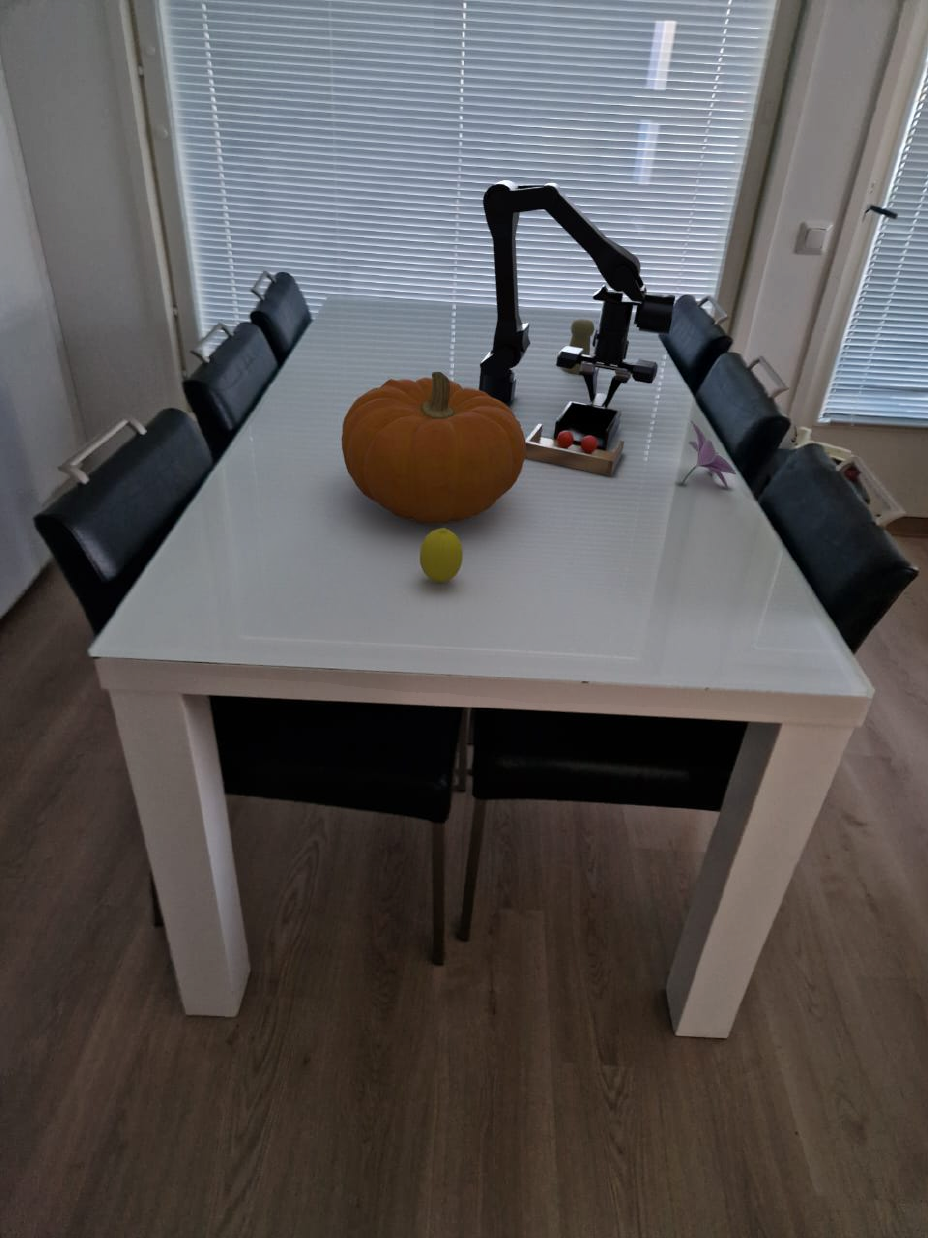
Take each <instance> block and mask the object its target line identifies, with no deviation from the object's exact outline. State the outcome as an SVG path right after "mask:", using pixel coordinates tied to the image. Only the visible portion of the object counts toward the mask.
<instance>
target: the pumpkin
mask: <svg viewBox="0 0 928 1238" xmlns="http://www.w3.org/2000/svg"><path fill="white" fill-rule="evenodd" d="M341 434H342V435H341V450H342V455H343V460H344V464H345V467H346V470H347V474H349V476H350V478H351V479H352V481H353V482H354V484H355V486H356V487H357V488H358V490H360V492H361V493H362V494H363V496H365V497H366V498H368V499H370V500H372V501H373V502H375V503H377V504H378V505H380V506H381V507H382V508H384V509H386V510H388V511H390V512H391V513H392V514H394V515H395V516H396V517H399V518H401V519H403V520H413V521H414V522H416V523H418V524H421V525H443V524H445V523H448V522H449V523H454V522H455V523H456V522H462V521H465V520H469V519H471V518H473V517H476V516H479V515H481V514H482V513H484V512H485V511H487V510H488V509H490V508H491V507H492V506H493V505H494V504H495V503H496V502H497V501H498V500H499V499H501V498H502V496H504V495H505V494H506V493H507V492H508V491H510V490H511V489H512V488H513V486H514V485H515V483H516V482H517V481H518V479H519V477H520V475H521V472H522V470H523V466H524V462H525V459H526V458H525V456H526V442H525V440H526V438H525V435H524V431H523V429H522V424H521V423H520V421H519V420H518V419H517V417H516V415H515V413H513V411H512V409H511V408H510V407H509V405H505V404H504V403H502V402H501V401H499V400H497V399H495V398H492V397H491V396H489V395H488V394H486V393H485V392H483V391H480V390H479V389H476V388H472V387H464V388H463V386H462V385H460V383H457V382H455V381H453V380H450V379H449V378H448V376H447V375H445V374H444V373H443V372H441V371H433V372H432V373H431V377H422V378H418V379H416V380H415V381H414V380H412V379H407V378H406V379H405V378H403V379H402V378H401V379H397V380H396V379H392V378H390V379H388V380H386V381H384V383H383V384H382V385H380V386H378V387H373V388H372V389H370V390H368V391H366V392H365V393H363V394H362V395H360V396H358V397H357V399H356V400H354V401H353V403H352V405H350V407H349V408H348V410H347V412H346V415H345V416H344V419H343V422H342V433H341Z"/></svg>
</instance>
